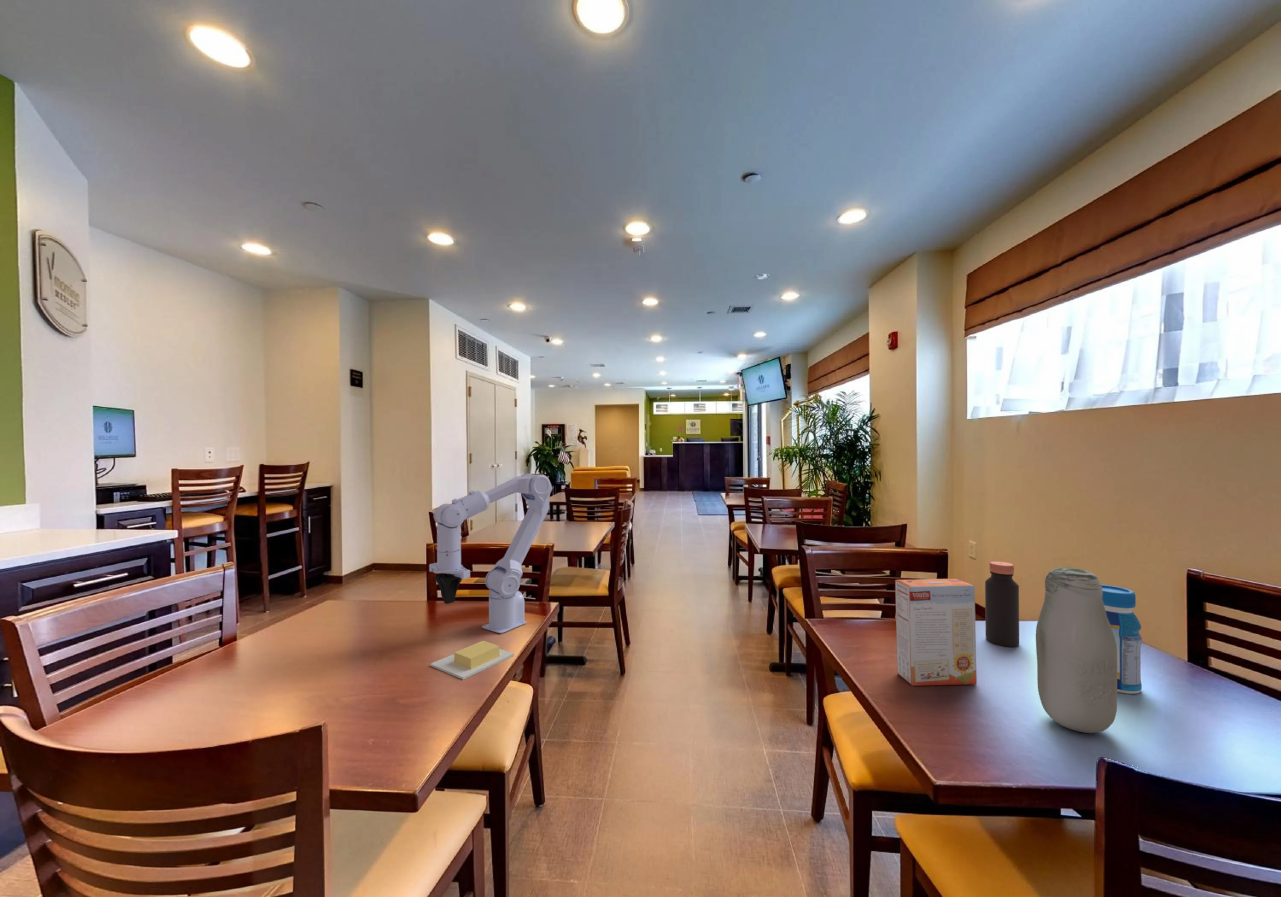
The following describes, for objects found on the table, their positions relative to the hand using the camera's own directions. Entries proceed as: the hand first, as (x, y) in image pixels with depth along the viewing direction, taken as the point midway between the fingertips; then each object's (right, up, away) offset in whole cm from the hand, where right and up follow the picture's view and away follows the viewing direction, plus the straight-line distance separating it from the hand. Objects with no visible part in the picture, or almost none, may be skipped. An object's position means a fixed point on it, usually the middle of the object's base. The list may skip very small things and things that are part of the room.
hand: (449, 602), depth 121 cm
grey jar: (+127, -9, -39) cm, 133 cm away
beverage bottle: (+148, -9, -24) cm, 150 cm away
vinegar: (+142, -10, -2) cm, 142 cm away
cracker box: (+113, -10, -21) cm, 115 cm away
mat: (+10, -10, -12) cm, 18 cm away
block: (+9, -8, -10) cm, 16 cm away
